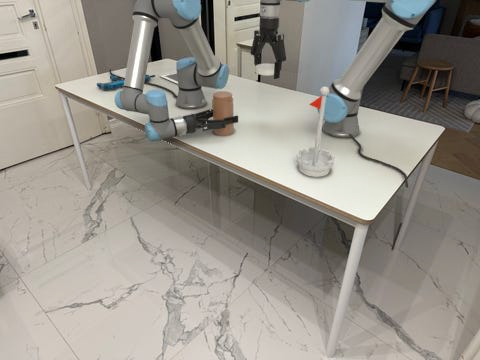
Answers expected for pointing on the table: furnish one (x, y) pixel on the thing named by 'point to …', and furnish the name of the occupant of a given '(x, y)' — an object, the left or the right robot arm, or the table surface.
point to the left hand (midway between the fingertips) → (232, 115)
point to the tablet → (171, 77)
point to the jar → (223, 110)
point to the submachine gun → (117, 82)
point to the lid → (265, 69)
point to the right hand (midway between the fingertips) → (266, 75)
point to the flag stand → (316, 146)
